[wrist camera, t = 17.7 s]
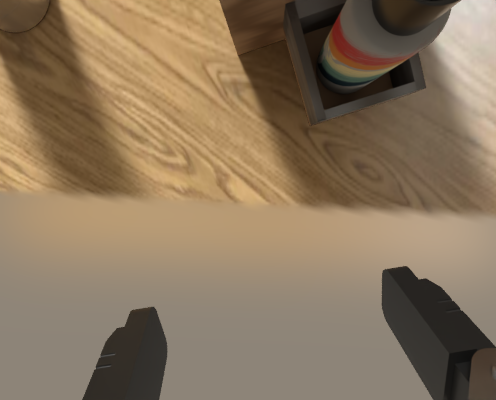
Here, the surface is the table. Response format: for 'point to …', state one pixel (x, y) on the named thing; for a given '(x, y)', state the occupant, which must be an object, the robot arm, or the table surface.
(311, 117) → the bracket
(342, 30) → the lotion bottle
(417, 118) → the table surface
